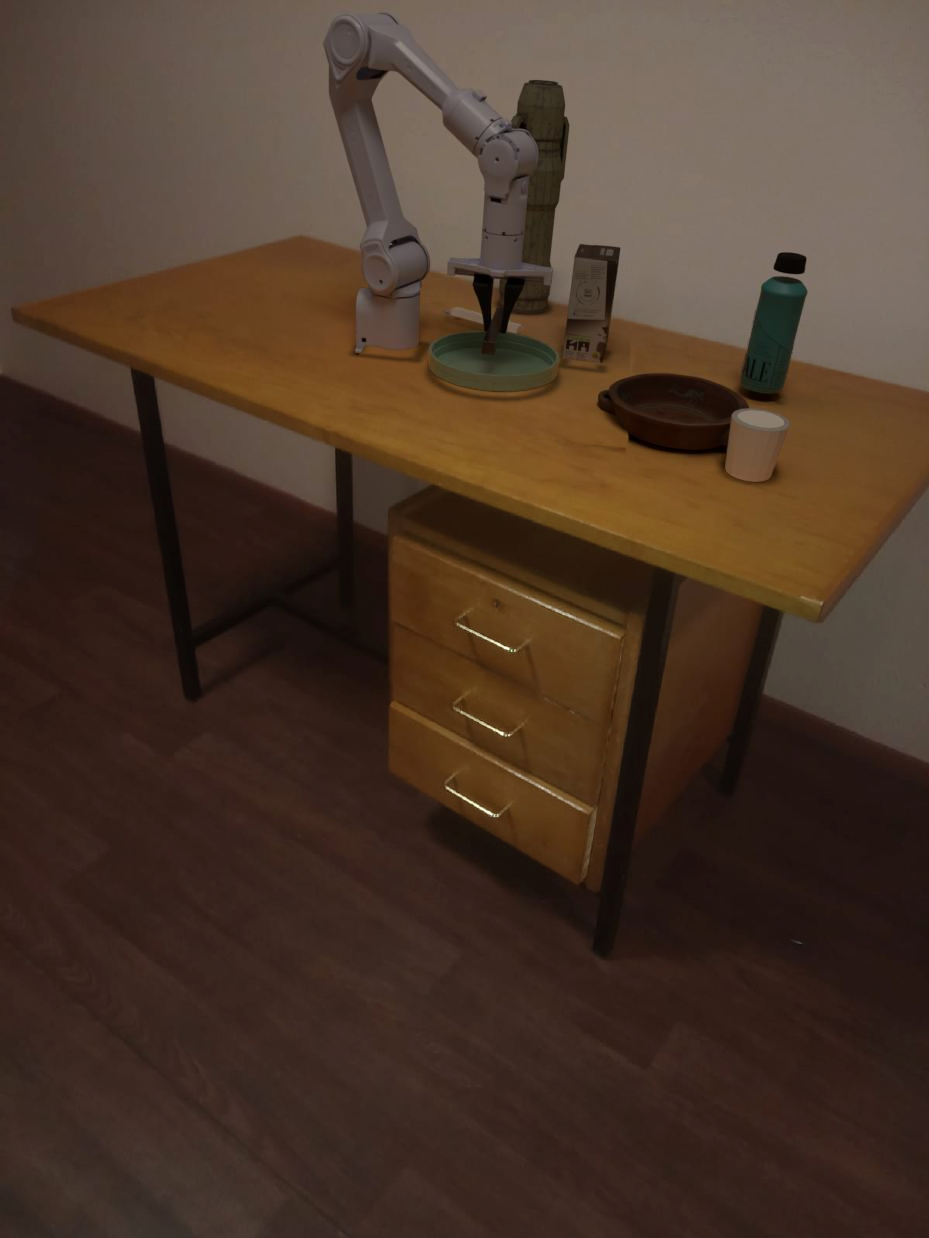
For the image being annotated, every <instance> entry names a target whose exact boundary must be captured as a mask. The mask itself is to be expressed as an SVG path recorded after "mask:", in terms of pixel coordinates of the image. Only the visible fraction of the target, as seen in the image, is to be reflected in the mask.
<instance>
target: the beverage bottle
mask: <svg viewBox="0 0 929 1238" xmlns="http://www.w3.org/2000/svg"><path fill="white" fill-rule="evenodd" d="M807 258H808V257H807V256H805V255H803V254H801V253H798V252H790V251H783V252H782V251H781V252H779V253H777V255H776V258H775V262H774V264H773V268H772V269H773V270H774V271H776V272H778V273H782V274H786V275H803V274H805V272H806V266H807ZM808 293H809V292H808V289H807V287H806V285H805V284H804V282H803V281H801V280H800V279H798V278H795V277H791V276H785V275H784V276H782V275H779V276H778V275H775V276H772V277H769V279H767V280H766V281H764V282H763V283H762V284H761V286H760V293H759V298H758V301H757V303H756V305H757V306H756V305H755V306H756V308H755V310H754V313H753V318H752V319H753V320H752V322H751V327H752V328H751V330H750V332H749V333H750V336H749V338H748V343H747V344H746V345H747V350H746V352H745V354H744V358H743V359H744V360H742V361H743V362H742V366H741V372H740V385H741V386H742V387H743V388H744V389H746V390H749V391H752V392H755V393H759V394H760V393H761V394H777V393H780V392H782V390H783V388H784V386H785V384H786V381H787V378H788V374H789V369H790V364H791V359H792V356H793V354H794V352H793V350H794V347H795V340H796V337H797V333H798V329H799V325H800V322H801V317H802V315H803V314H802V313H803V309H804V305H805V302H806V298H807V295H808Z"/></svg>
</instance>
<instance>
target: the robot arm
mask: <svg viewBox="0 0 929 1238" xmlns="http://www.w3.org/2000/svg"><path fill="white" fill-rule="evenodd" d="M322 45H323V49H324V52H325V56H326V61H327V63H328V95H329V100H330V104H331V107H332V111H333V114H334V118H335V120H336V121H335V122H336V125H337V127H338V131H339V135H340V138H341V141H342V145H343V149H344V152H345V156H346V159H347V162H348V166H349V170H350V173H351V176H352V180H353V183H354V188H355V190H356V193H357V197H358V200H359V205H360V208H361V211H362V215H363V218H364V221H365V225H366V230H365V232H364V233H363V236H362V238H361V241H360V243H359V249H360V252H361V259H362V263H361V273H362V277H363V280H364V282H365V285H366V286H367V287H360V288H359V290H358V293H357V296H356V302H355V349H354V353H355V354H359V355H360V354H361V353H362V351H363V349H364V348H365V347H372V348H378V349H383V350H387V351H388V350H389V351H407V350H412V349H414V348H417V347H418V346H419V344H420V342H419V341H420V315H421V289H422V288H423V287H422V286H423V280H425V279H426V278H427V276H428V274H429V273H430V269H431V257H430V253H429V251H428V250H427V247H426V246H425V244H423V242H422V240H421V239H420V236H419V233H418V229H417V228H416V226H415V225H413V224H412V223H411V222H410V221H408V219H406V217H404V213H403V210H402V206H401V202H400V199H399V196H398V191H397V187H396V184H395V181H394V177H393V174H392V170H391V167H390V161H389V159H388V155H387V151H386V147H385V144H384V140H383V137H382V133H381V129H380V126H379V121H378V119H377V115H376V112H375V111H376V110H375V108H374V107H375V106H374V103H373V101H372V100H373V96H374V94H375V93H376V91H377V88H378V87H379V84H380V83H381V81H382V80H383V79H384V78H385V77H386V76H387V74H389V73H390V72H396V73H398V74H399V75H400V76H401V77H403V78H404V80H406V81H407V82H408V83H409V84H410V85H412V86H413V87H414V88H415V89H416V90H417V91H419V92H420V94H422V95H423V96H424V97H425V98H427V99H428V101H430V102H431V103H433V105H435V106H436V107H437V109H439V110H440V111H441V114H442V125H443V127H444V128H445V129H446V130H447V131H448V132H449V133H450V134H452V135H453V137H455V139H457V140H458V142H460V144H462V145H463V146H464V147H465V148H466V149H467V150H468V151H469V152H470V154H472V155H473V156H474V157H475V158H476V160H477V165H478V169H479V172H480V173H481V175H482V178H483V182H484V184H483V191H484V197H483V212H482V225H481V226H482V227H481V241H480V255H479V256H480V257H479V258H473V257H472V258H471V257H469V258H468V257H466V258H465V257H463V258H462V257H449V258H448V260H447V265H446V266H447V267H446V276H452V277H453V276H464V277H465V276H467V277H473V281H472V289H473V291H474V293H475V296H476V298H477V301H478V304H479V307H480V311H481V312H480V313H482V316H483V323H484V324H483V331H485V332H487V329H488V327H489V325H490V323H491V316H492V303H493V302H492V301H493V293H494V283H495V279H496V280H500V279H504V280H507V282H506V284H505V289H504V311H503V318H502V324H501V333H503V334H506V333H507V332H508V331H507V327H508V322H509V321H510V318H511V314H512V313H513V312H512V309H513V307H514V305H515V303H516V301H517V299H518V297H519V295H520V294H521V292H522V290H523V287H524V285H525V282H534V283H543V285H549V286H550V287H552V286H551V285H552V284H553V276H554V267H552V268H550V267H543V266H537V265H532V264H527V263H522V251H523V240H524V229H525V218H526V207H527V195H528V183H529V176H528V175H529V174H531V173H532V172H533V171H534V169H535V167H536V165H537V162H538V156H539V154H538V147H537V144H536V142H535V140H534V139H533V138H532V136H531V135H530V133H529V132H528V131H527V130H524V129H513V128H512V127H511V125H512V122H511V120H510V119H509V118H508V117H506V118H504V117H502V115H500V113H499V112H498V111H496V110H495V109H494V108H493V107H492V106H491V105H490V104H489V103H488V102H487V101H486V100H487V98H488V95H487V94H486V93H485V92H484V91H483V90H481V89H477V90H475V89H474V88H472V87H466V88H461V89H460V88H459V87H458V86H457V85H456V84H455V83H454V81H453V80H452V79H451V78H450V77H449V76H448V75H447V74H446V73H445V72H444V70H443V69H442V67H440V66H439V65H438V64H437V63H436V62H435V60H434V59H433V58H432V57H431V56H430V55H429V54H428V53H427V52H426V50H425V49H424V48H423V47H422V46H421V45H420V44H419V43H418V42H417V41H416V39H415V38H414V36H413V33H412V31H411V30H410V28H408V26H406V25H404V24H401V22H400V21H399V19H398V18H397V17H396V16H395V15H393V14H392V13H390V12H387V11H386V12H385V11H384V12H383V11H381V12H378V13H350V12H341V13H339V14H338V15H336V16H335V17H334V18H333V20H332V21H331V23H330V25H329V27H328V30H327V31H326V35H325V36H324V38H323V41H322ZM526 176H527V177H526Z"/></svg>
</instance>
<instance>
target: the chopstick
mask: <svg viewBox="0 0 929 1238" xmlns="http://www.w3.org/2000/svg"><path fill="white" fill-rule="evenodd" d="M503 311H504V308H500V306H499V307H498V306H497V307H496V308H495V310H494V313H493V316H492V317H493V318H492V320H491V323H490V325H489V327H488V329H487V332H486V334H485V336H484V339H483V341H482V354H489V355H494V354H495V352H496V349H497V346H498V344H499V341H500V339H501V336H502V333H501V324H502V318H503Z"/></svg>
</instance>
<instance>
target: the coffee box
mask: <svg viewBox="0 0 929 1238" xmlns="http://www.w3.org/2000/svg"><path fill="white" fill-rule="evenodd" d="M620 254H621V246H612V245H602V244H601V245H599V244H585V243H579V245H578V248H577V249H576V252H575V254H574V258H573V268H572V273H571V275H572V276H571V283H570V292H569V299H568V308H567V316H566V324H565V332H564V341H563V348H562V350H563V351H562V356H561V358H562V360H570V361H578V362H586V363H594V364H603V362H604V358H605V355H606V350H607V346H608V339H609V333H610V326H611V320H612V314H613V306H614V298H615V294H616V293H615V291H616V283H617V278H618V271H619V261H620Z"/></svg>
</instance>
